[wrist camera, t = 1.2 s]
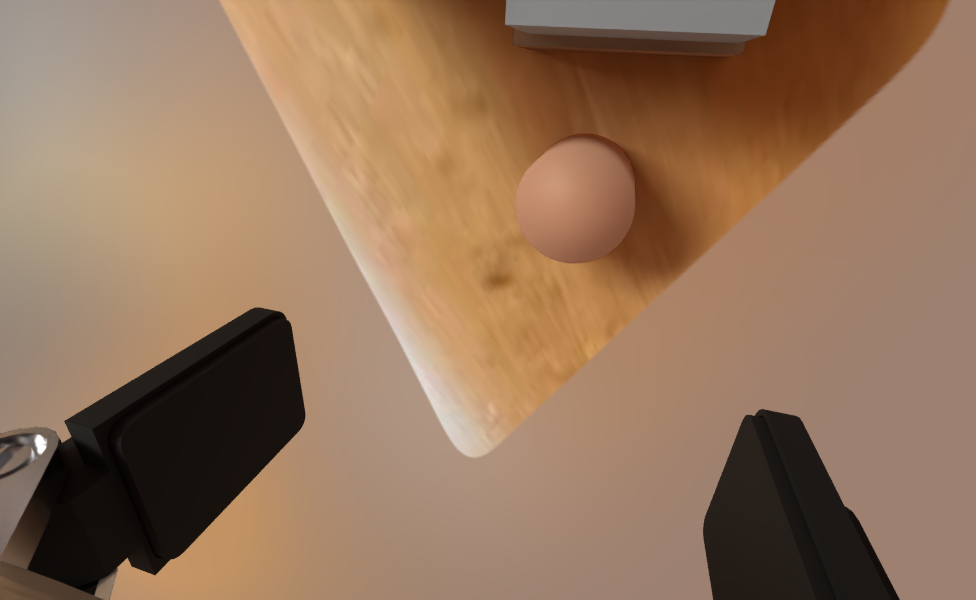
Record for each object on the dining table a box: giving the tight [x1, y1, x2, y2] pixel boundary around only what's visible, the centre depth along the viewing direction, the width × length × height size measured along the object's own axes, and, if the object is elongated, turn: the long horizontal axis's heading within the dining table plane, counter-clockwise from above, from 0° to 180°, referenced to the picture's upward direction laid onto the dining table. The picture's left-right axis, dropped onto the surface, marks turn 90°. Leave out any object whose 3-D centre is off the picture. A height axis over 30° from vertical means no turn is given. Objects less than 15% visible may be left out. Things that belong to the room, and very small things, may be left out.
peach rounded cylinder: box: [515, 134, 635, 263], centre depth 25 cm, size 6×6×5 cm
